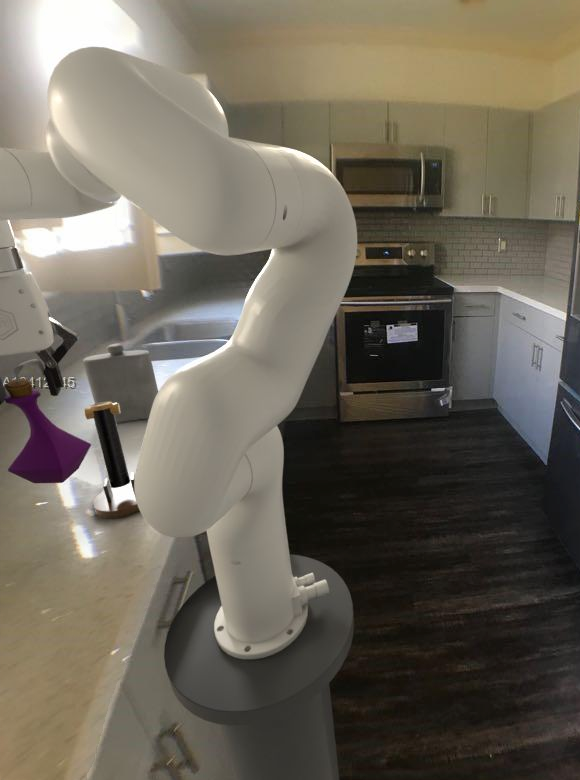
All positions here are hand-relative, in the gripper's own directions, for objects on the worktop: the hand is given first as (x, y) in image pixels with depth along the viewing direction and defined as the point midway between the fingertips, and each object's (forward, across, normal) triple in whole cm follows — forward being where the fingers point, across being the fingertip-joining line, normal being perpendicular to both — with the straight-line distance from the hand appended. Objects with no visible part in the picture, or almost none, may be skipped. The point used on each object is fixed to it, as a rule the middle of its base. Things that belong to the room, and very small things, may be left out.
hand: (29, 396), depth 64 cm
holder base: (+27, +6, +12) cm, 31 cm away
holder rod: (+16, +6, +16) cm, 23 cm away
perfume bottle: (+13, 0, 0) cm, 13 cm away
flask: (+28, +6, +54) cm, 61 cm away
